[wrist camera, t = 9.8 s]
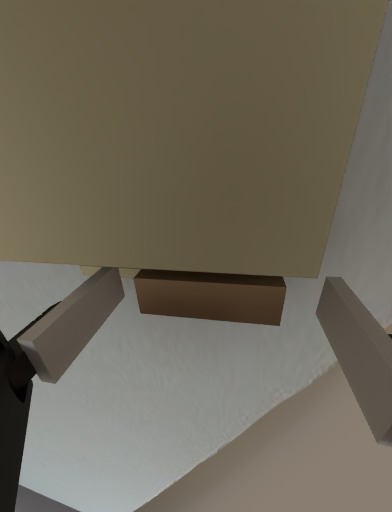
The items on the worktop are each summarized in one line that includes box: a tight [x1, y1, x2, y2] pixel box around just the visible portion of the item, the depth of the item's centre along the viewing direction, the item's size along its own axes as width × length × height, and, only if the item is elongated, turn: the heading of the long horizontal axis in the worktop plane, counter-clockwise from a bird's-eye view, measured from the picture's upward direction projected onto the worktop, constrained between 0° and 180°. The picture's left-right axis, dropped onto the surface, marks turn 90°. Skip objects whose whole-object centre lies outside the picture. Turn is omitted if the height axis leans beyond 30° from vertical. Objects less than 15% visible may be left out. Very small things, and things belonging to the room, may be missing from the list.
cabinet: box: [0, 0, 389, 278], centre depth 14 cm, size 20×20×12 cm
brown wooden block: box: [134, 269, 287, 326], centre depth 17 cm, size 4×9×10 cm, turn 92°
